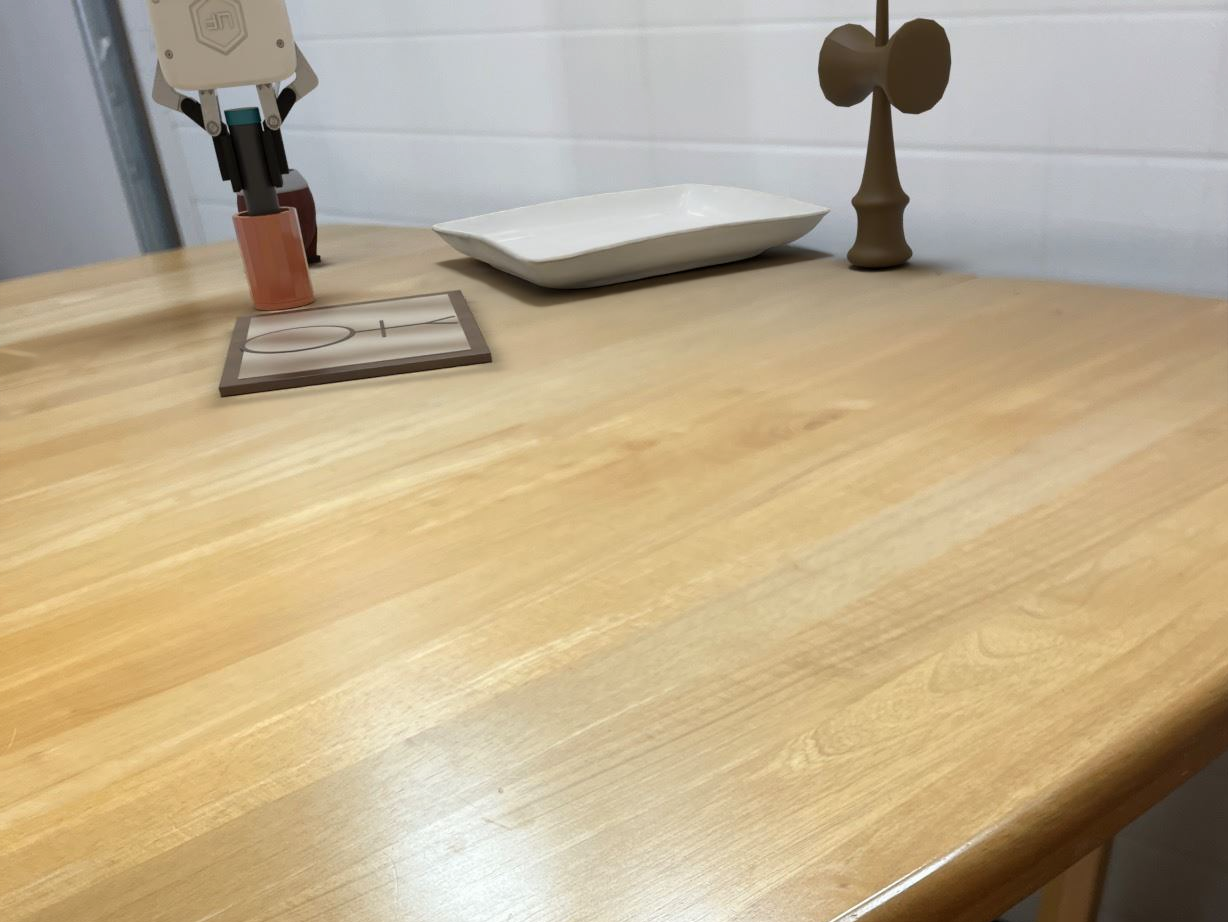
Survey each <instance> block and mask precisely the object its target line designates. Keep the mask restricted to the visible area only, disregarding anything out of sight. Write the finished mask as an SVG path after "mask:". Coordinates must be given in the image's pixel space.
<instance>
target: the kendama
mask: <svg viewBox="0 0 1228 922" xmlns="http://www.w3.org/2000/svg"><path fill="white" fill-rule="evenodd" d="M875 1H876V2H875V3H876V6H875V30H874V31H875V35H874V34H873V32H870V31H869V30H868V29H867V28H866V27H864V26H863V25H862V24H856V23H845V24H843V25H840V26H837V27H835V28H834V29H833V30H832V31H831V32H830V33H829V34H828V35H827V36H826V37H825V38H824V40H823V42H822V46H821V47H820V50H819V55H818V63H817V76H818V82H819V83H818V84H819V87H820V89H821V91H822V94H823V96H824V98H825V100H827V101H828V102H830V103H831V104H832V105H834V106H835V107H837V108H839V107H840V108H851V107H853V106H856V105H859V104H861V103H862V102H864V101H865V100H866V99H867V98H868V97H869V96H870V95H871V94H872V98H871V109H870V121H869V129H868V138H867V146H866V147H867V148H866V153H865V159H864V161H865V162H864V168H863V173H862V178H861V182H860V185H859V188H858V190H857V193H856V194H855V195H854V196H852V198H851V201H850V204H851V205H852V207H853V208H854V210H855V213H856V218H857V224H856V225H857V226H856V237H855V239H854V240H855V242H854V243H853V245H852V246H851V248H850V249H849V250H848V251H847V253H846V259H847V261H848V262H849V263H850V264H852V265H854V266H858V267H861V268H887V267H888V268H889V267H894V266H897V265H900V264H904V263H906V262H907V261H909V260H910V259H911V258H913V256H914V255H913V254H914V252H913V249H912V248H911V246H910V245H909V243H908V242H907V240H906V236H905V229H904V214H905V210H906V207H907V206H908V205H909V203H910V202H911V201H910V200H911V197H910V195H908V194H907V193H906V192H905V190H904V189H903V187H902V184H901V180H900V177H899V171H898V165H897V155H896V149H895V140H894V129H893V117H892V107H894V108H895V109H897V110H898V111H899V112H900V113H902V114H905V115H921V114H923V113H926V112H928V111H930V110H932V109H933V108H934V107H935V106H937V104H938V103H939V102H940V101H941V100H942V99H943V97H944V95H945V92H946V89H947V87H948V86H949V85H948V84H949V81H950V76H951V68H952V52H951V43H950V40H949V37H948V35H947V33H946V30H945V28H944V27H943V26H942V25H941V24H939V23H938V22H937V21H936V20H935V19H930V18H923V17H917V18H914V19H911V20H909V21H906V22H904V23H903V24H902V25H901V26H900V27H899V28H898V29H897V30H896V31H895V32H894V33H893V34H892V35H891V36H890V20H889V19H890V16H889V15H890V13H889V10H890V9H889V7H890V5H889V4H890V3H889V0H875Z"/></svg>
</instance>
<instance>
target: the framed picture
mask: <svg viewBox="0 0 1228 922" xmlns="http://www.w3.org/2000/svg"><path fill="white" fill-rule="evenodd" d="M492 361H493V357H492V352H491V350H490V348H489V345H488V344H487V342H486V339H485V338H484V335H483V333H482V332H481V329H480V327H479V325H478V323H477V321H476V319H475V316H474V315H473V313H472V310H471V309H470V307H469V304H468V302H467V300H466V298H465V295H464V294H463V291H462V289H456V290H446V291H439V292H431V293H421V294H414V295H408V296H407V295H406V296H398V297H390V298H382V299H372V300H365V301H357V302H349V303H340V304H331V305H325V306H317V307H316V306H315V307H308V308H299V309H292V310H284V311H274V312H267V313H259V314H249V315H242V316H237V317H236V320H235V323H234V327H233V331H232V335H231V339H230V343H229V346H228V350H227V355H226V358H225V362H224V366H223V369H222V373H221V377H220V381H219V385H218V391H219V395H220V397H226V396H227V397H228V396H237V395H243V394H251V393H252V394H253V393H259V392H267V391H274V390H282V389H289V388H299V387H305V386H313V385H321V384H327V383H328V384H329V383H337V382H344V381H351V380H359V379H366V378H374V377H375V378H376V377H381V376H390V375H398V374H406V373H412V372H421V371H429V370H436V369H444V368H452V367H459V366H467V365H473V364H475V365H476V364H483V363H490V362H492Z"/></svg>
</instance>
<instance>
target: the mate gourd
mask: <svg viewBox="0 0 1228 922" xmlns="http://www.w3.org/2000/svg"><path fill="white" fill-rule="evenodd" d="M281 82H282V81H279V82H274V84H273V85H274V89H275V93H276V97H277V98H278V96H279V94H280V87H281ZM282 178H283V187H281V188H276V186H275V188H276V192H277V197H278V202H279V206H280V207H294V208H296V211H297V216H298V220H299V225H300V230H301V234H302V239H303V244H304V249H305V253H306V258H307V263H308V264H310V263H317V262H321V261H322V257H321V255H320V254H318V225H317V210H316V201H315V199H314V196H313V193H312V190H311V189H310V187H309V182H308V181H307V180H306V178H305V177H304V176H303V175H302V174H301V172H300V171H299V170H297V169H296V168H289V174H283V175H282ZM236 206H237V213H239V212H243V211H247V207H246V202H245V198H244V194H243V189H242V190H241V191H240V192H236Z"/></svg>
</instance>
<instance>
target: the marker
mask: <svg viewBox="0 0 1228 922" xmlns="http://www.w3.org/2000/svg"><path fill="white" fill-rule="evenodd" d="M223 115H224V118H225V122H226V123H225V124H226V125H227V129H228V132H229V134H230V136H231V140H232V144H233V149H234V153H235V157H236V162H237V166H238V170H239V175H240V179H241V183H242V188H243V194H244V198H245V202H246V207H247V211H248V215H249V216H262V215H270V214H276V213H281V211H280V206H279V202H278V197H277V192H276V188H275V186H274V187H273V183H272V179H271V174H270V170H269V165H268V161H267V156H266V152H265V147H264V143H263V138H262V132H263V131H264V128H263V124H262V116H261V113H260V108H259V107H258V106H246V107H237V108H229V109H225V110H223Z"/></svg>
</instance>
